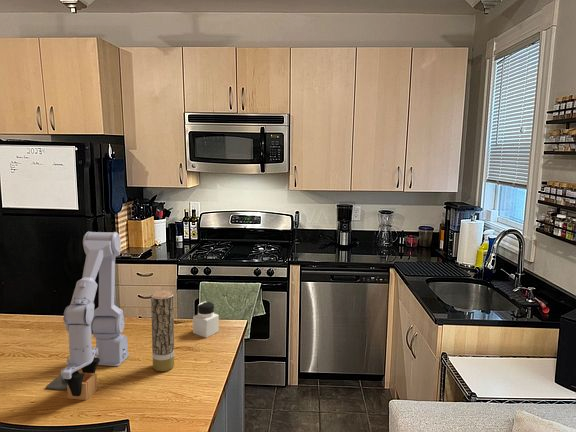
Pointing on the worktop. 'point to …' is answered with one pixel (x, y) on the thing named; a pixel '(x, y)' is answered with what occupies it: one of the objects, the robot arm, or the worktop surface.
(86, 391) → the brown hollow box
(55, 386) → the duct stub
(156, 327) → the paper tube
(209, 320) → the medicine bottle
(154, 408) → the worktop surface
